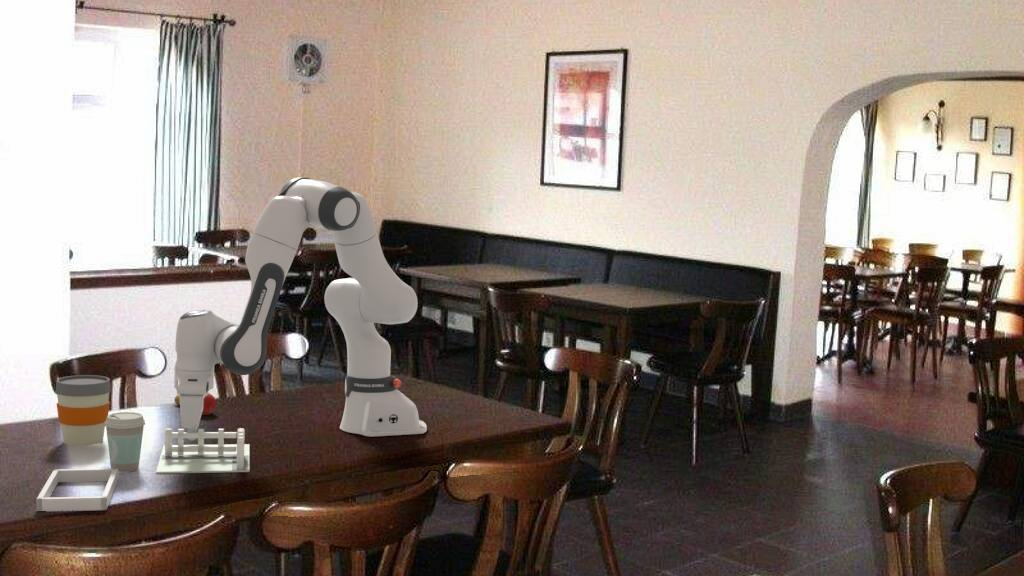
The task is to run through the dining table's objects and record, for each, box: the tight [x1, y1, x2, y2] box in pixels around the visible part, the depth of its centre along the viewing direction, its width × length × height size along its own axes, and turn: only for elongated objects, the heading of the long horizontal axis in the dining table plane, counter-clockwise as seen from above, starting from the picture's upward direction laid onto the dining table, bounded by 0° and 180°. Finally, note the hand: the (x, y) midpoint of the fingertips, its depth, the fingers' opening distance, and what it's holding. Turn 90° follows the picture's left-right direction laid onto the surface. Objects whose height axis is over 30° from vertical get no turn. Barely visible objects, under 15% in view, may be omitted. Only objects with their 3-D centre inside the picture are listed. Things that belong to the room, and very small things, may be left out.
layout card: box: [155, 443, 250, 475], centre depth 281 cm, size 20×24×1 cm
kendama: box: [174, 392, 217, 416], centre depth 330 cm, size 8×6×18 cm
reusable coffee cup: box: [55, 374, 112, 447], centre depth 292 cm, size 13×12×15 cm
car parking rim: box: [35, 468, 119, 512], centre depth 249 cm, size 13×22×2 cm, turn 12°
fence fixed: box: [236, 429, 246, 470], centre depth 276 cm, size 11×2×6 cm, turn 12°
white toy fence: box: [164, 427, 246, 456], centre depth 281 cm, size 18×2×6 cm, turn 100°
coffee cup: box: [105, 411, 146, 473], centre depth 269 cm, size 8×8×12 cm
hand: (192, 439), depth 282 cm, fingers closed
